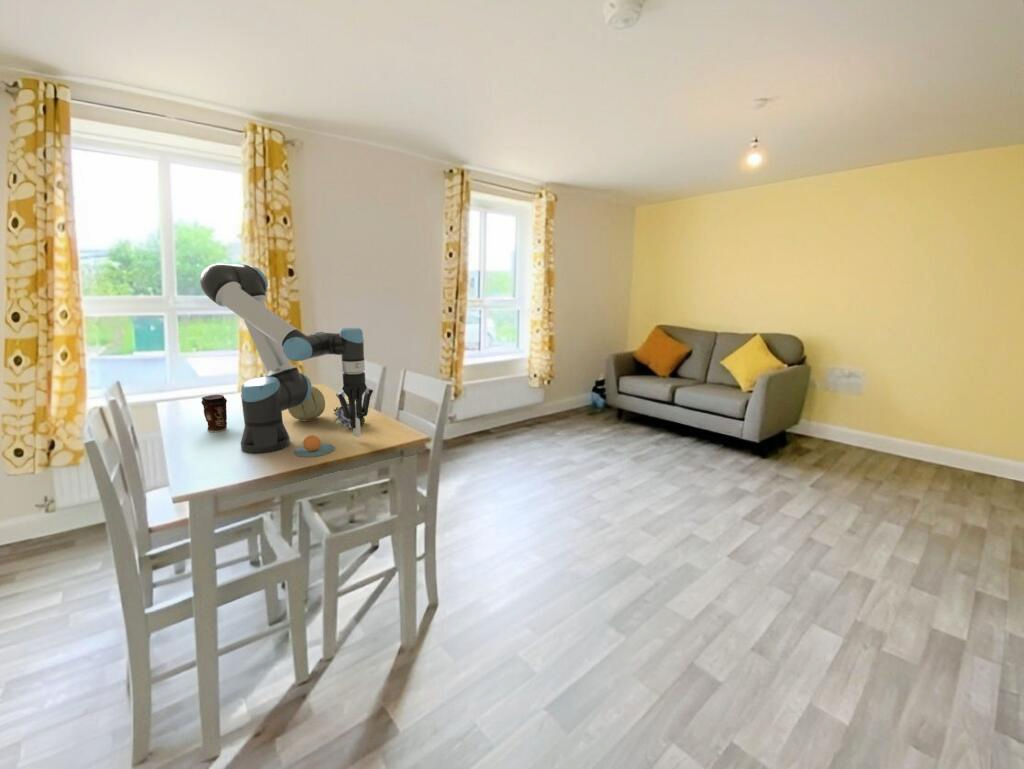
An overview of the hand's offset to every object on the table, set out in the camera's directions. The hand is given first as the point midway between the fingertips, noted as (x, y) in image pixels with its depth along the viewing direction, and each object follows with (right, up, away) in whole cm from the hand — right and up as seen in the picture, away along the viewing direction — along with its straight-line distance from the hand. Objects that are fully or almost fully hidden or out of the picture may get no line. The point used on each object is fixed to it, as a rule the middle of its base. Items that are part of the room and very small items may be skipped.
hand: (357, 435), depth 170 cm
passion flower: (-9, +2, +18) cm, 20 cm away
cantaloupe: (-28, +4, +24) cm, 38 cm away
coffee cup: (-57, +1, +10) cm, 58 cm away
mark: (-11, -4, -10) cm, 15 cm away
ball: (-12, -1, -11) cm, 16 cm away
